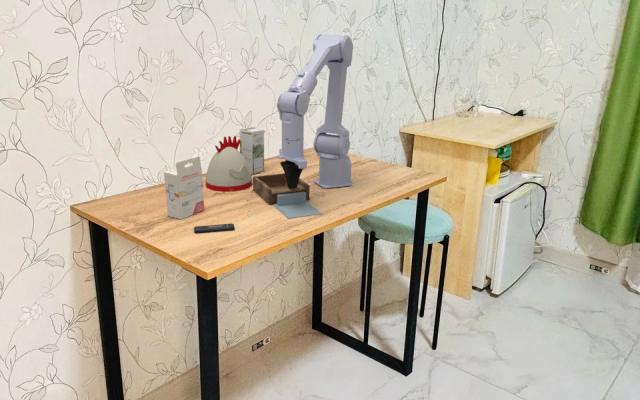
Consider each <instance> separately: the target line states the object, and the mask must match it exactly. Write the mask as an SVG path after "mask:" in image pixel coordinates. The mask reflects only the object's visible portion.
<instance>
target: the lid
mask: <svg viewBox="0 0 640 400" xmlns="http://www.w3.org/2000/svg"><path fill="white" fill-rule="evenodd" d="M273 206H274V208H276V209H277V210H278V211H279V212H280V213H281V214H282V215H283V216H284V217H285V218H286V219H288V220H290V219H297V218H304V217H312V216H318V215H319V216H320V215H323V213H322V212H321V211H320V210H319V209H318V208H317V207H315V206H314V205H313V204H312V203H310V202H309V201H308V200H306V193H305V192H298V193H290V194H281V195H277V204H273Z"/></svg>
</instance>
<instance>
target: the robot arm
mask: <svg viewBox="0 0 640 400" xmlns="http://www.w3.org/2000/svg"><path fill="white" fill-rule="evenodd" d="M353 50H354V44H353V41H352V39H351V37H350V35H348V34H347V35H346V34H345V35H337V34H336V35H335V34H334V35H333V34H329V35H328V34H322V33H321V34H320V33H319V34H317V35H316V37H315V38H314V40H313V43H312V52H313V53H312V54H311V56H310V59H309V61H308V62H307V65H306V67H305V69H304V70H303V69H302V70H300V71H299V72H298V73H297V74H296V76H295V78H294V80H293V81H292V82H291V84H290V86H289V87H288V89H287V90H286V91H283V92H282V93H280V94H279V96H278V99H277V103H276V108H277V111H278V114H279V120H280V121H281V148H279V150H278V151H279V153H278V154H277V159H279V160H282V161H280V166H281V168H282V170H283V173H285V176H286V181H287V185H288V188H290V189H293V188H297V186H298V182H299V179H301V178H300V177H301V175H302V173H303V171H304V169H307V168H308V160H306V157H305V153H304V145H305V144H304V143H305V142H304V136H305V135H304V132H305V130H304V129H305V128H304V127H305V124H304V123H305V122H304V121H305V120H304V119H305V115H306V113H307V112H308V109H309V105H310V102H311V95H312V94H313V92H314V91H315V88H316V87H317V85H318V78H317V77H318V75H319V74H320V73H321V71H322V70H323V69H324V67H325V66H327V68H328V70H329V73H328V74H329V75H328V85H327V95H326V104H325V105H326V106H325V117H324V123H323V124H322V125H320V126H319V127H318V128H316V132H315V136H314V140H313V144H312V145H313V149H314V152H315V153H316V154H317V155H316V156H317V157H319V158H318V159H319V163H318V164H319V165H318V179H315V180H313V182H314V183H315V184H317V185H318V186H320V187H321V188H322V189H326V190H327V189H334V188H343V187H350V186H352V184H353V183H351V181H352V161H351V158H350V156H349V155H348V154H349V152H350V146H351V144H350V143H351V142H350V131H348V129H346V128H345V127H344V125H342V124H343V123H342V120H343V114H344V113H343V112H344V111H343V110H344V101H345V91H346V82H347V74H348V73H347V72H348V67H351V65H352V61H353V52H354V51H353ZM283 160H285V161H283Z"/></svg>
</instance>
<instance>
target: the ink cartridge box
mask: <svg viewBox="0 0 640 400" xmlns="http://www.w3.org/2000/svg"><path fill="white" fill-rule="evenodd" d="M190 164H192V165H190ZM163 175H164V187H165V188H164V189H165V199H166V207H167V216H168V217H171V218H175V219H177V220H183V219H186V218H189V217H191V216H193V215H195V214H198V213H201V212H203V211H204V210H205V203H204V202H205V200H204V197H205V196H204V183H203V169H202V163H201V157H200V156H199V155H198V156H196V157H191V158H186V159H184V160H181V161H177V162H176V163H175V168H174V169H171V170H170V169H169V170H167V171H164V172H163Z"/></svg>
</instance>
